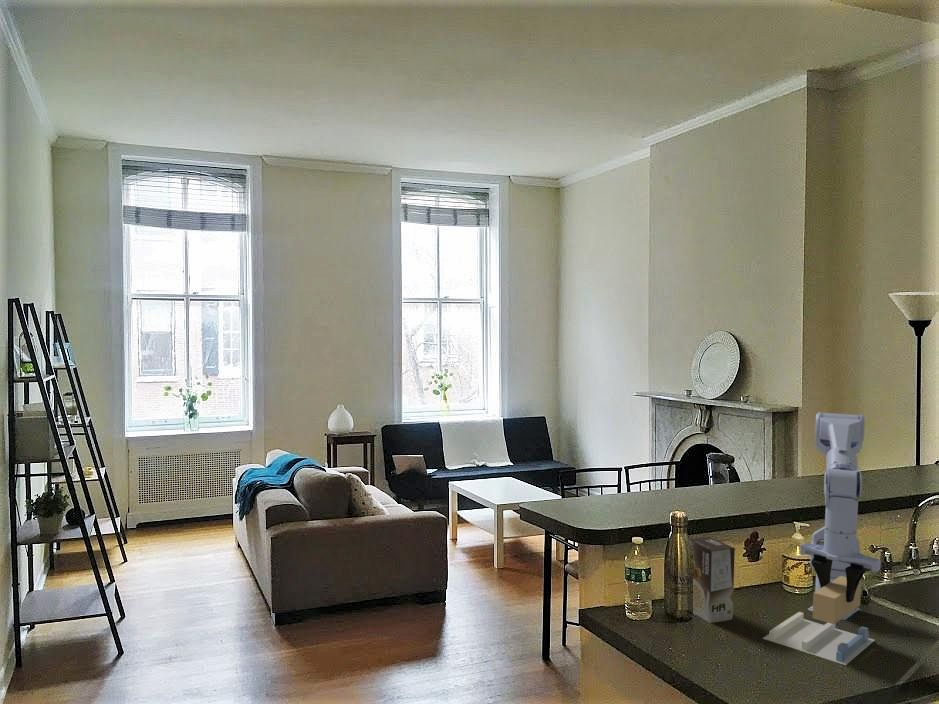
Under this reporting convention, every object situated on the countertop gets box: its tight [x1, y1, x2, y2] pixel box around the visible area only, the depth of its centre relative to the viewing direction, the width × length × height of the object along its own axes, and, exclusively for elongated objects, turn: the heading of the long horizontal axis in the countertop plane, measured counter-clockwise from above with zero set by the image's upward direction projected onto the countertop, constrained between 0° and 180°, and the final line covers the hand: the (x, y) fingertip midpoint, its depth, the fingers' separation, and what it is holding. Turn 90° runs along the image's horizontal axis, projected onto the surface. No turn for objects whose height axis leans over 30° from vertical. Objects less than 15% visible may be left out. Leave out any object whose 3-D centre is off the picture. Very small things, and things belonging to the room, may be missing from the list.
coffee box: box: [688, 536, 736, 624], centre depth 169 cm, size 9×6×16 cm
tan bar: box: [812, 576, 862, 625], centre depth 154 cm, size 14×4×5 cm, turn 135°
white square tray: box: [762, 611, 876, 666], centre depth 157 cm, size 16×16×3 cm
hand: (837, 597), depth 154 cm, fingers closed on tan bar, 4 cm apart
